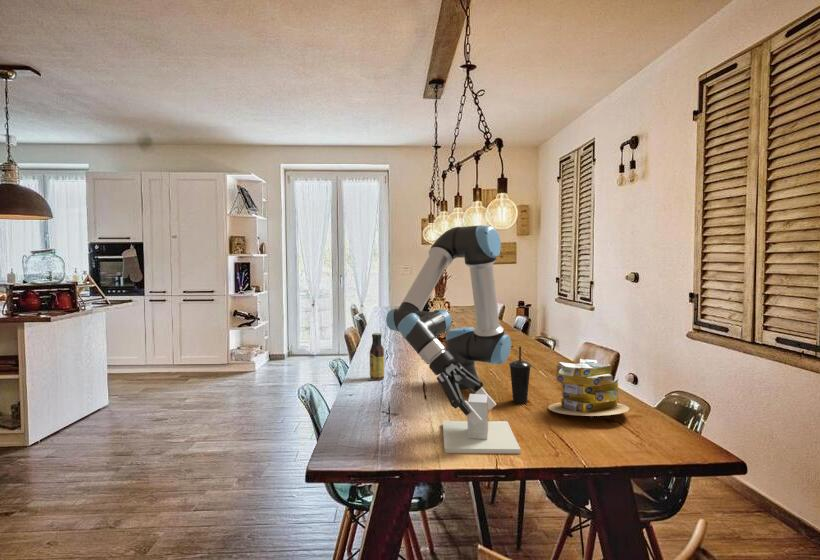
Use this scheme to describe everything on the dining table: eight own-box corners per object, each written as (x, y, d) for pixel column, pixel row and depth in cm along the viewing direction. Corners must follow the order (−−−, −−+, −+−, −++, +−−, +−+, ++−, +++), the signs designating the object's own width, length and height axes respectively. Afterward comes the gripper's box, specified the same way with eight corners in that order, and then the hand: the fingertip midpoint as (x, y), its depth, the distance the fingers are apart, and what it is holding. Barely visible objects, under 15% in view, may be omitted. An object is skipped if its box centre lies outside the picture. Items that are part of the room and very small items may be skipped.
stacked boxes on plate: (535, 404, 157) (535, 357, 156) (596, 398, 162) (597, 353, 161) (576, 430, 133) (576, 375, 132) (647, 422, 138) (647, 369, 137)
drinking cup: (532, 399, 161) (532, 345, 160) (529, 406, 154) (529, 349, 153) (511, 397, 164) (511, 343, 163) (507, 403, 158) (507, 347, 157)
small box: (487, 440, 123) (487, 402, 123) (467, 438, 124) (467, 401, 124) (488, 429, 131) (488, 394, 131) (469, 427, 132) (469, 393, 132)
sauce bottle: (370, 377, 195) (369, 332, 194) (384, 376, 195) (383, 331, 194) (369, 381, 188) (369, 334, 187) (384, 380, 189) (384, 334, 188)
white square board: (442, 424, 138) (442, 421, 138) (507, 425, 137) (507, 421, 137) (444, 452, 118) (444, 448, 118) (520, 453, 117) (520, 449, 117)
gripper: (445, 357, 145) (490, 409, 139) (410, 375, 123) (461, 438, 117) (460, 342, 142) (507, 394, 136) (427, 358, 120) (480, 421, 114)
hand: (486, 414), depth 126 cm, fingers open, 13 cm apart
